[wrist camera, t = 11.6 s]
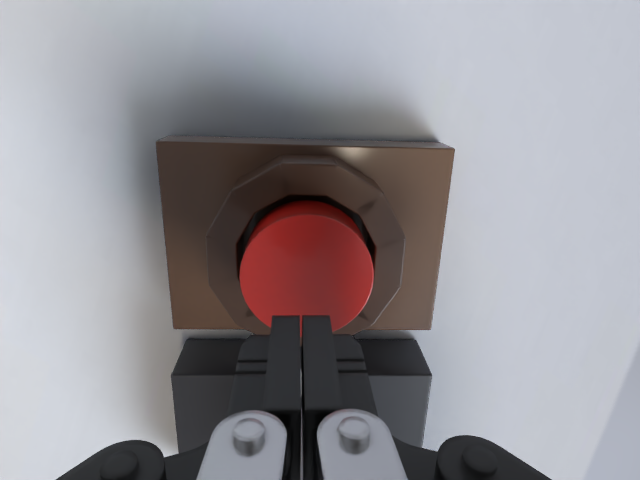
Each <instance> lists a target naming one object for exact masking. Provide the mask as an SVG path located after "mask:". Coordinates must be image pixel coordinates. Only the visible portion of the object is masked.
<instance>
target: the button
mask: <svg viewBox="0 0 640 480" xmlns="http://www.w3.org/2000/svg"><path fill="white" fill-rule="evenodd" d="M239 279H240V287H241V291H242V294H243V297H244V299H245V302H246V303H247V305H248V307H249V308H250V310H251V311H252V312H253V313H254V315H255V316H256V317H257V318H258V319H259V320H260V321H262V322H263V323H264V324H266V325H267V326H269V327H271V322H272V315H300V337H302V315H330V320H331V327H332V332H333V331H336V330H338V329H340V328H342V327H343V326H345V325H347V324H348V323H349V322H351V321H352V320H353V319H354V318H355V317H356V316H357V315H358V314H359V313H360V312H361V310H362V309H363V308H364V306H365V304H366V303H367V301H368V299H369V296H370V294H371V291H372V287H373V281H374V269H373V263H372V259H371V256H370V253H369V251H368V248H367V246H366V243H365V241H364V238H363V236H362V234H361V232H360V230H359V228H358V227H357V225H356V224H355V223H354V221H353V220H352V219H351V218H350V217H349V216H348V215H347V214H345V213H344V212H342V211H341V210H340V209H338V208H336V207H334V206H332V205H329V204H326V203H323V202H319V201H311V200H302V201H294V202H290V203H286V204H283V205H281V206H279V207H277V208H275V209H273V210H272V211H270V212H269V213H267V214H266V215H265V216H264V217H263V218H262V219H261V220H260V221H259V222H258V223H257V224H256V226H255V227H254V229H253V231H252V233H251V234H250V237H249V239H248V242H247V245H246V249H245V252H244V255H243V258H242V261H241V265H240V275H239Z"/></svg>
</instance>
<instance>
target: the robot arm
mask: <svg viewBox="0 0 640 480" xmlns="http://www.w3.org/2000/svg"><path fill="white" fill-rule="evenodd" d="M301 396H302V456H303V480H551V479H550V478H548V477H547V476H545V475H544V474H542V473H540V472H539V471H537V470H536V469H534V468H533V467H531V466H530V465H528V464H526V463H525V462H523V461H522V460H520V459H519V458H517V457H515V456H514V455H512V454H511V453H509V452H508V451H506V450H505V449H503V448H501V447H500V446H498V445H496V444H495V443H493V442H491V441H489V440H486V439H483V438H480V437H476V436H469V435H461V436H455V437H452V438H450V439H448V440H446V441H445V442H444V443H443V444H442V445H441V446H440V448H439V450H438V452H436V451H432V450H428V449H424V448H420V447H416V446H413V445H409V444H407V443H405V442H402V441H401V440H399V439H397V438H395V437H394V436H393V435H391V433H390V430H389V428H388V427H387V425H386V424H385V423H384V422H383V421H382V420H381V419H380V418H379V417H378V413H377V409H376V405H375V401H374V397H373V392H372V388H371V384H370V380H369V376H368V373H367V368H366V364H365V362H364V356H363V352H362V348H361V345H360V344H359V343H358V342H357V341H356V340H355V339H354V338H353V337H352V336H351V334H332V327H331V320H330V315H302V361H301V358H300V315H272V322H271V332H270V335H251V336H250V337H249V338H248V339H247V340H246V341H245V342H244V343H243V344H242V345H241V347H240V351H239V356H238V363H237V366H236V370H235V375H234V380H233V385H232V389H231V394H230V399H229V404H228V408H227V413H226V418H225V419H224V420H223V421H221V422H220V423H219V424H218V425H217V426H216V428H215V429H214V431H213V433H212V435H211V438H210V440H209V441H208V442H206V443H205V444H203V445H201V446H199V447H197V448H195V449H192V450H189V451H186V452H183V453H179V454H175V455H172V456H168V457H165V458H164V457H163V454H162V452H161V450H160V449H159V448H158V447H157V446H156V445H154V444H152V443H150V442H147V441H142V440H129V441H123V442H119V443H116V444H113V445H110V446H108V447H106V448H104V449H102V450H100V451H99V452H97V453H96V454H94V455H92V456H91V457H89V458H88V459H86V460H85V461H83V462H82V463H80V464H79V465H77V466H76V467H74V468H73V469H71V470H70V471H68V472H67V473H65V474H64V475H62V476H61V477H59V478H58V479H56V480H300V465H301Z"/></svg>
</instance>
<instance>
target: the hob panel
mask: <svg viewBox="0 0 640 480" xmlns="http://www.w3.org/2000/svg"><path fill="white" fill-rule="evenodd" d="M245 341H246V340H239V339H188V340H186V343H185V345H184V347H183V349H182V352H181V354H180V356H179V359H178V361H177V363H176V365H175V368H174V370H173V372H172V374H171V381H172V391H173V400H174V410H175V420H176V430H177V440H178V450H179V453H183V452H186V451H189V450H192V449H195V448H197V447H199V446H201V445H203V444H205V443H206V442H208V441H209V440H210V438H211V435H212V433H213V431H214V429H215V428H216V426H217V425H218V424H219V423H220V422H221V421H223V420H224V419H225V418H226V413H227V408H228V404H229V399H230V394H231V389H232V385H233V380H234V375H235V370H236V366H237V363H238V356H239V351H240V347H241V345H242V344H243V343H244V342H245ZM356 341H357V342H358V343H359V344H360V345H361V348H362V352H363V356H364V362H365V364H366V368H367V373H368V376H369V380H370V384H371V388H372V392H373V397H374V401H375V405H376V409H377V413H378V417H379V418H380V419H381V420H382V421H383V422H384V423H385V424H386V425H387V427H388V428H389V430H390V433H391V435H393V436H394V437H395V438H397V439H399V440H401V441H402V442H405V443H407V444H409V445H413V446H416V447H420V448H422V443H423V436H424V429H425V422H426V415H427V408H428V401H429V393H430V386H431V379H432V374H431V372H430V369H429V367H428V365H427V363H426V360H425V358H424V356H423V354H422V352H421V349H420V347H419V345H418V343H417V341H416V340H356ZM300 358H301V361H302V346H300ZM301 408H302V396H301Z"/></svg>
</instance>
